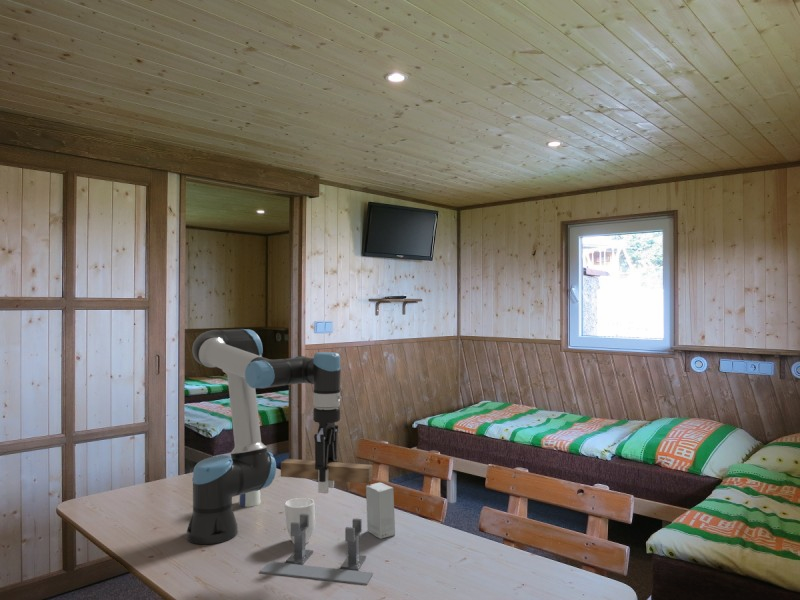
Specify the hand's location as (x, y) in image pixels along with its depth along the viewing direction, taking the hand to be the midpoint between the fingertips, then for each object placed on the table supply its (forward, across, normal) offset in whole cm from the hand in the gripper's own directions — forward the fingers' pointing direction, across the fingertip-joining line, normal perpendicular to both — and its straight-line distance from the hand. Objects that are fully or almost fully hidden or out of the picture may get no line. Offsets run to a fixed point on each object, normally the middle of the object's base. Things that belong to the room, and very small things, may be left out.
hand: (326, 489), depth 161 cm
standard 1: (+20, 0, +8) cm, 21 cm away
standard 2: (+20, 0, -8) cm, 22 cm away
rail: (-3, 0, 0) cm, 3 cm away
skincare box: (+20, +22, -10) cm, 31 cm away
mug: (+20, +12, +12) cm, 26 cm away
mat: (+20, -8, 0) cm, 21 cm away
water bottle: (+20, +38, +43) cm, 61 cm away
